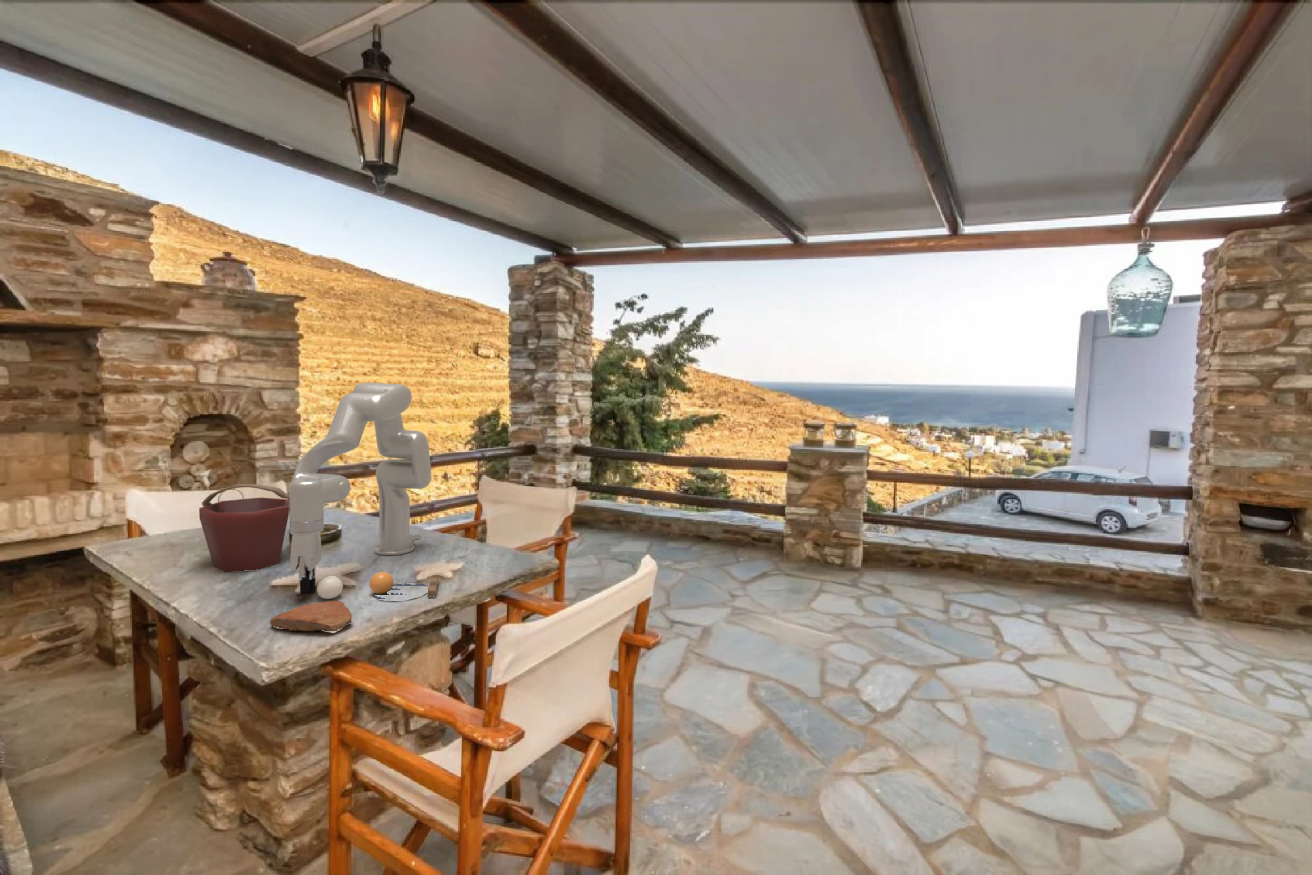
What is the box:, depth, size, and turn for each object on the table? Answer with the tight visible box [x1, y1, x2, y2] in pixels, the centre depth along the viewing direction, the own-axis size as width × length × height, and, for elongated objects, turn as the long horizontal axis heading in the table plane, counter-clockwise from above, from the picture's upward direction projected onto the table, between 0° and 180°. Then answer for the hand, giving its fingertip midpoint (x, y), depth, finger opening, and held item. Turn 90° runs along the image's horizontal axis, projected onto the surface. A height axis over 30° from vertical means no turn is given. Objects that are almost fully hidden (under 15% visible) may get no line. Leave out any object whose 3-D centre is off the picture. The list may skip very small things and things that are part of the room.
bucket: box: [198, 483, 290, 573], centre depth 168 cm, size 24×22×25 cm
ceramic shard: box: [269, 600, 353, 632], centre depth 129 cm, size 15×6×15 cm
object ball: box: [369, 571, 395, 594], centre depth 150 cm, size 6×6×6 cm
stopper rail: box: [427, 575, 440, 598], centre depth 154 cm, size 12×2×2 cm, turn 18°
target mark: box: [373, 582, 428, 600], centre depth 152 cm, size 14×14×1 cm
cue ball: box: [316, 575, 344, 600], centre depth 145 cm, size 6×6×6 cm
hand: (307, 592), depth 145 cm, fingers closed
